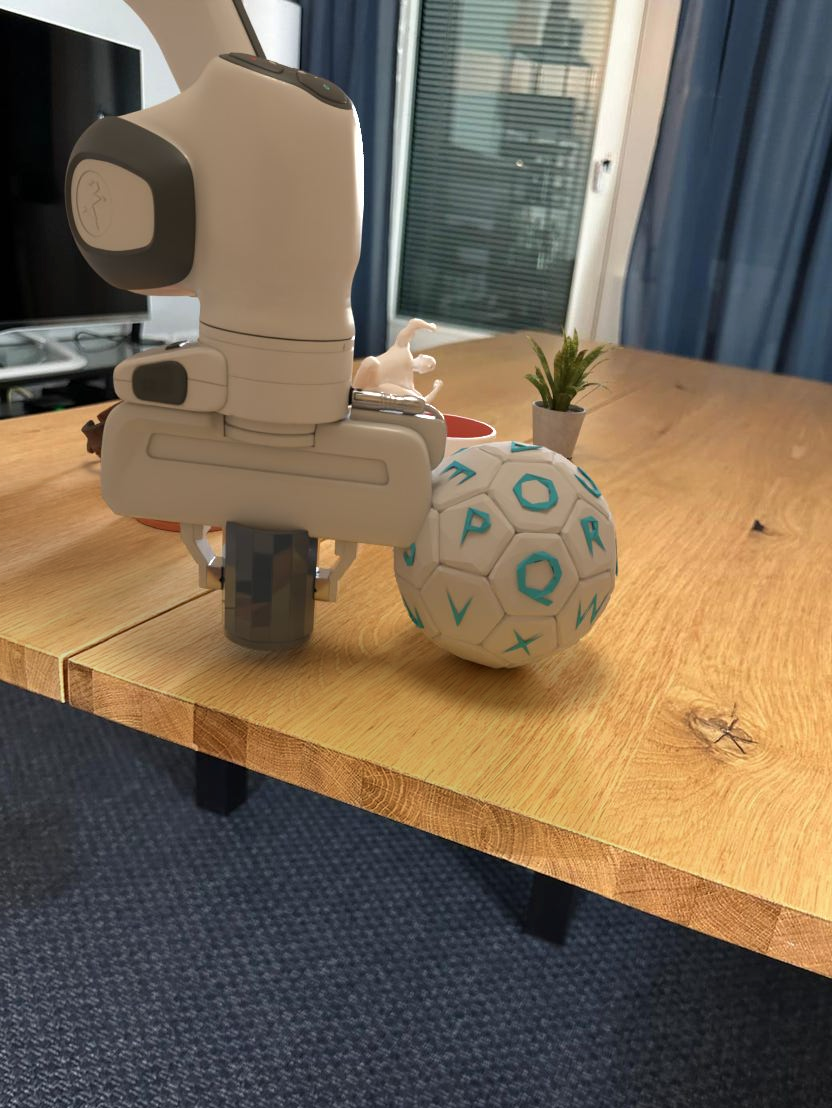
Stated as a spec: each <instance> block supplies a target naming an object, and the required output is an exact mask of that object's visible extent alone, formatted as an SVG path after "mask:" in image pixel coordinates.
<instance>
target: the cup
mask: <svg viewBox="0 0 832 1108" xmlns="http://www.w3.org/2000/svg"><path fill="white" fill-rule="evenodd" d="M441 414H442V416H443V418H444V419H445V422H446V425H447V439H446V448H445V455H444V458H443V459H445V458H448V457H450V456H451V455H453V454H454V453H456V452H457V451H459V450H460V449H462V448H469V447H472V446H475V445H481V444H486V443H492V442H496V439H497V431H496V429H495V428H494V427H492V426H491V425H489V424H487V423H485V422H482V421H479V420H476V419H472V418H468V417H464V416H459V415H454V414H447V413H441ZM423 415H426V416H434V415H432V414H431V413H429V412H424V414H423ZM434 417H435V416H434ZM442 461H443V460H442Z"/></svg>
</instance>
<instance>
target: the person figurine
mask: <svg viewBox="0 0 832 1108" xmlns="http://www.w3.org/2000/svg"><path fill="white" fill-rule="evenodd" d="M437 329H438V328H437V325H436V324H435V323H428V322H426V321H425V320H423V319H421V318H416V317H415V318H411V319H409V321H408V323H407V326H405V327H404V328H402V329H401V330H400V331H399V332H398V334H397V335H396V337H395V341H394V344H393V345H392V346H390V348H389V349H388V350H387V351H385V352H384V353H382V354H380V355H377V356H373V355H370V356H367V357H365V358H364V359H363V360H362V361H361V362H360V366H359V368H357V369H358V370H357V371H356V373H355V375H354V377H353V381H352V382H353V383H352V385H351V386H352V388H360V389H365V390H373V391H379V392H382V393H383V392H384V393H387V394H391V395H396V396H397V395H399V396H404V395H413V396H418V397H421V398H424V399H425V404H428V405H430V406H431V404H432V403H433V401H434V400H435V398H436V396H437V395H438V394H439V393H438V392H439V391H440V390H441V389H442V387H444V382H443V381H442V380H441V379H435V380H434V382H433V384H432V387H433V390H432V391H430V392H429V393H428V394H427V395H426V396H424V397H423V395H422V393H420V391H417V390H416V389H415V384H414V378H415V377H414V376H415V375H414V372H417V373H418V374H420V375H422V374H426V373H430V372H432V371H434V370H435V369H436V366H437V365H436V364H437V363H436V360H435V358H434V357H433V356H430V355H427V354H423V353H419V354H418V356H417V357H415V358H414V357H413V354H412V353H411V351H410V348H411V345H410V342H411V341H412V340H413V338H414V337H415V336H416V331H418V330H419V331H420V330H425V331H428V332H429V333H435V332H437V331H438V330H437ZM351 407H352V404H351V406H350V409H351Z"/></svg>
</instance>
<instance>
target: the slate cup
mask: <svg viewBox="0 0 832 1108" xmlns="http://www.w3.org/2000/svg"><path fill="white" fill-rule="evenodd" d="M221 530H222V534H221V535H222V539H221V540H222V541H221V543H222V544H221V546H222V547H221V551H222V552H221V557H222V590H221V623H222V626H221V627H222V631H221V632H222V634H223V636H224V637H225V638H226V639H227V640H228V641H230V642H231V643H233V644H235V645H237V646H240V647H242V648H245V649H250V650H256V651H262V652H263V651H264V652H278V651H287V650H293V649H297V648H300V647H302V646H304V645H306V644H308V643H309V642H311V640H313V638H314V637H315V630H316V621H317V607H318V606H317V604H318V601H315V600H314V592H315V591H316V589H315V577H316V576H317V574H318V570H319V568H320V555H321V554H320V553H321V539H320V538H312V537H310V536H309V534H308V531H307V530H295V531H278V532H273V531H264V530H256V529H252V528H248V527H244V526H241V525H239V524H237V523H236V522H229V521H227V522H226V527H225V528H224V527H222V529H221Z"/></svg>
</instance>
